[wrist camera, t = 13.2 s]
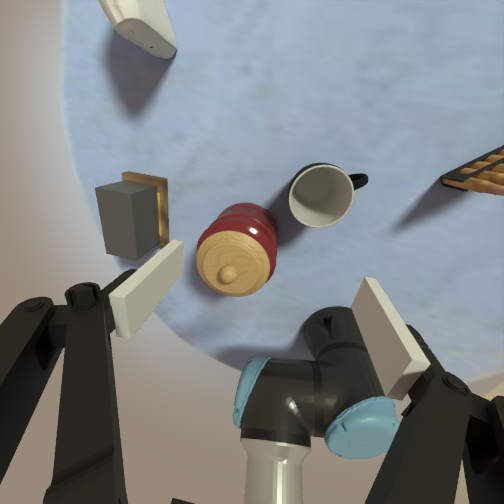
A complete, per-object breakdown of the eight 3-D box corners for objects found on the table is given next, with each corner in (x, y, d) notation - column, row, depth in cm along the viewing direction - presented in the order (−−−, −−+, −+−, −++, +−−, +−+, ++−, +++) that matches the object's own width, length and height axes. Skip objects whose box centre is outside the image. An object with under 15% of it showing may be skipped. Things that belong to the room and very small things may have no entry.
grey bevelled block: (159, 242, 48) (137, 259, 41) (133, 237, 48) (106, 253, 41) (157, 185, 42) (130, 194, 35) (127, 179, 42) (94, 187, 35)
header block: (169, 242, 50) (153, 256, 44) (135, 236, 50) (115, 248, 45) (167, 178, 43) (148, 184, 38) (128, 171, 44) (104, 176, 38)
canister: (279, 201, 42) (275, 236, 27) (277, 261, 48) (273, 318, 32) (213, 200, 44) (173, 233, 28) (219, 258, 50) (188, 312, 34)
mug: (294, 215, 43) (296, 234, 34) (282, 168, 40) (281, 176, 31) (360, 198, 40) (381, 214, 31) (353, 145, 37) (375, 146, 28)
